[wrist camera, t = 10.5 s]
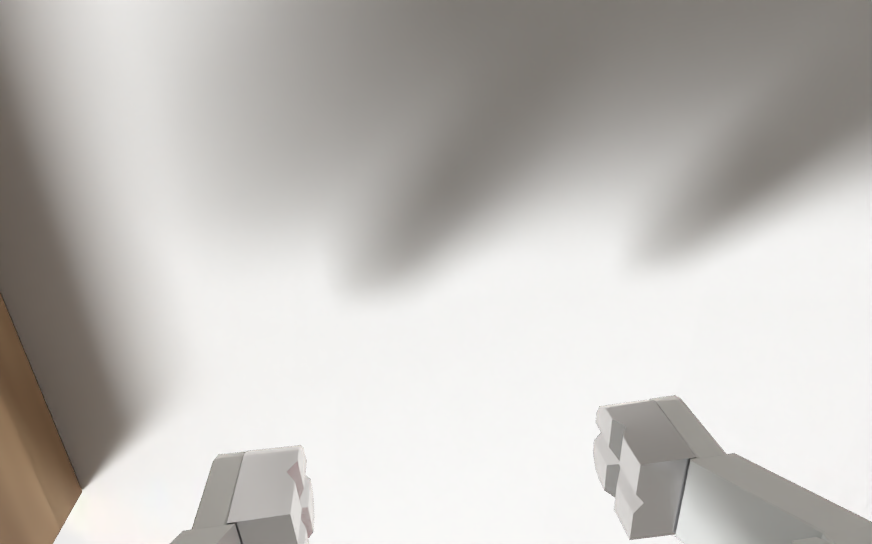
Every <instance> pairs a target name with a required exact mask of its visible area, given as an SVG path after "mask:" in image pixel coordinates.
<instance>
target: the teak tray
mask: <svg viewBox="0 0 872 544" xmlns="http://www.w3.org/2000/svg"><path fill="white" fill-rule="evenodd" d="M81 493H82V490H81V487H80V485H79V482H78V480H77V478H76V475H75V473H74V470H73V468H72V465H71V463H70V461H69V458H68V456H67V453H66V451H65V448H64V446H63V444H62V441H61V439H60V436H59V434H58V432H57V429H56V427H55V424H54V422H53V419H52V417H51V415H50V412H49V410H48V407H47V405H46V402H45V400H44V398H43V395H42V393H41V390H40V388H39V386H38V383H37V381H36V378H35V376H34V373H33V371H32V369H31V366H30V364H29V361H28V359H27V356H26V354H25V352H24V349H23V347H22V344H21V342H20V339H19V337H18V335H17V332H16V330H15V327H14V325H13V323H12V320H11V318H10V315H9V313H8V310H7V308H6V306H5V303H4V301H3V298H2V296H1V293H0V544H53V542H54V541H55V539H56V537H57V535H58V534H59V532H60V530H61V528H62V526H63V525H64V523H65V521H66V519H67V518H68V516H69V514H70V512H71V511H72V509H73V507H74V505H75V503H76V502H77V500H78V498H79V496H80V495H81Z"/></svg>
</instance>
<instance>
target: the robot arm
mask: <svg viewBox="0 0 872 544" xmlns="http://www.w3.org/2000/svg"><path fill="white" fill-rule="evenodd" d="M596 424H597V426H598V428H599V430H600V431H601V433H600V434H599V435H598V436H597V438H596V439H595V440H594V449H593V456H594V463H595V469H596V472H597V475H598V478H599V480H600V482H601V484H602V486H603V489H604V490H605V491H606V492H608V493H609V494H611V495H612V496H614V497H615V506H614V510H615V512H616V514H617V516H618V518H619V520H620V522H621V524H622V526H623V528H624V530H625V532H626V534H627V536H628V538H629V540H633V539H641V538H649V537H657V536H665V535H674V534H675V537H676V538H677V539H679V540H680V541H681V542H682V543H684V544H872V522H871V521H869V520H867V519H865V518H863V517H861V516H859V515H857V514H855V513H853V512H851V511H849V510H847V509H845V508H843V507H841V506H839V505H837V504H835V503H833V502H831V501H829V500H827V499H825V498H823V497H821V496H819V495H817V494H815V493H813V492H811V491H809V490H807V489H805V488H803V487H801V486H799V485H797V484H795V483H793V482H791V481H789V480H787V479H785V478H783V477H781V476H779V475H777V474H775V473H773V472H771V471H769V470H767V469H765V468H763V467H761V466H759V465H757V464H755V463H753V462H751V461H749V460H747V459H745V458H743V457H741V456H739V455H737V454H735V453H732V454H726V453H725V452H724V450H723V449H722V448H721V447H720V445H719V444H718V443H717V442H716V441H715V439H714V438H713V437H712V436H711V435H710V433H709V432H708V431H707V430H706V429H705V427H704V426H703V425H702V424H701V422H700V421H699V420H698V419H697V418H696V416H695V415H694V414H693V413H692V412H691V410H690V409H689V408H688V407H687V406H686V404H685V403H684V402H683V401H682V399H681V398H679V397H677V396H675V395H673V396H666V397H659V398H652V399H649V400H641V401H634V402H626V403H619V404H612V405H605V406H599V408H598V411H597V415H596ZM306 463H307V460H306V456H305V452H304V448H303V447H302V446H301V445H297V446H288V447H279V448H269V449H260V450H250V451H246V452H237V453H227V454H218V456H217V457H216V458H215V459H214V461H213V463H212V466H211V469H210V473H209V476H208V479H207V482H206V485H205V489H204V492H203V495H202V498H201V501H200V505H199V508H198V511H197V514H196V517H195V520H194V524H193V527H192V530H186V531H182V532H181V533H180V534H179V535H178V536H177V537H176V538H175V539H174V540H173V541H172V542H171V543H170V544H309V540H308V538H309V537H310V536H311V534H312V533H313V529H314V498H313V490H312V484H311V479H310V478H308V477H307V476H306V475H305V473H306Z"/></svg>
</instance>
